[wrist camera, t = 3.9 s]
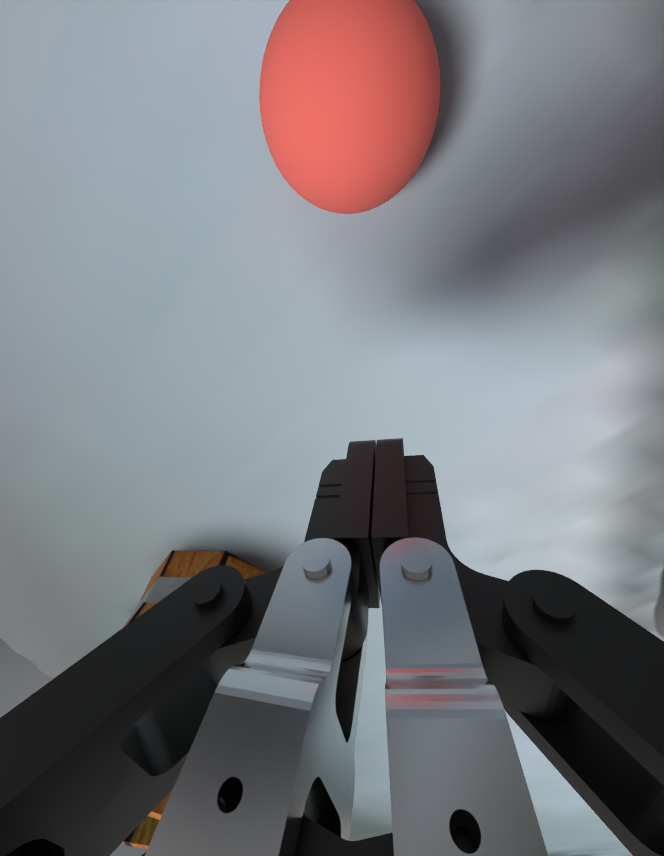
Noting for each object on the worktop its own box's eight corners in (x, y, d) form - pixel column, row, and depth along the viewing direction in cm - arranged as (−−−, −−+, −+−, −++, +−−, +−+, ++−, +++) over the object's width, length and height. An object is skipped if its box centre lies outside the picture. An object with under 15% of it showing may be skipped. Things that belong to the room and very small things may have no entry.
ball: (300, 224, 17) (263, 229, 12) (268, 48, 14) (199, -50, 9) (431, 199, 15) (454, 192, 10) (427, 1, 12) (458, -145, 7)
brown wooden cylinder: (229, 529, 29) (104, 781, 16) (316, 620, 34) (275, 864, 21) (85, 583, 36) (-81, 787, 23) (176, 651, 41) (82, 848, 28)
